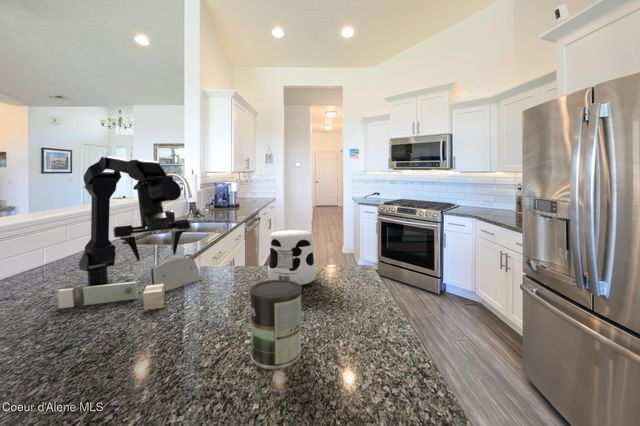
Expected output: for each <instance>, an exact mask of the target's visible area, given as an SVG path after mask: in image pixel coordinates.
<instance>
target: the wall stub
mask: <svg viewBox="0 0 640 426" xmlns="http://www.w3.org/2000/svg"><path fill="white" fill-rule="evenodd" d="M57 297H58V308H59V310H60V309H66V308H74V307H76V306H75V297H74V287H71V288H62V289H59V290H58V291H57Z"/></svg>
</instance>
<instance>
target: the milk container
mask: <svg viewBox="0 0 640 426" xmlns="http://www.w3.org/2000/svg"><path fill="white" fill-rule="evenodd" d="M269 235H270V236H269V255H270V256H269V262H268V266H267V276H268V281H269V280H289V281H293V282H296V283H298V284H300V285H301V287H304V286H307V285H310V284H311V283H313V282H314V281H315V280H316V276H317V265H316V261H315V254H314V253H315V238H314V233H313V232H311V231H308V230H294V229H292V230H289V229H288V230H280V231H273V232H271V233H270V234H269Z"/></svg>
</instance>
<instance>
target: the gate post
mask: <svg viewBox="0 0 640 426" xmlns="http://www.w3.org/2000/svg"><path fill="white" fill-rule="evenodd" d="M73 288H74V297H75V306H74V307H82V306H83V305H84V293H83V286H82V285H75V286H74V287H73Z"/></svg>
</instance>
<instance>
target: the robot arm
mask: <svg viewBox="0 0 640 426" xmlns="http://www.w3.org/2000/svg"><path fill="white" fill-rule="evenodd" d="M121 173H124V174H128V177H129V178H131V179H133V180H135V181H137V183H136V184H135V185H134V186H133V187H132V188H133V190H135V191H137V198H138V206H139V207H138V209H139V215H140V223H141V226H133V225H132V224H130V225H119V226H115V227H114V228H113V229H112V231H113V238H119V240H120V241H121V240H122V241H124V240H125V242H126V244H127V245H128V247H130V249H131V251H132V253H133V255H134V257H135V259H136V260H137V261H138V262H139V261H141V260H140V254H139V250H138V246H137V241H136V237H135V235H134V234H140V233H147V232H148V233H149V232H156V231H164V230H171V229H172V231H170V233H171V249H172V255H173V256H174V255H176V253H177V249H178V245H179V241H180V238H181V236H182V235H183V233H186V232H187V230H189V229H191V223H190V221H189V220H188V219H178V220H175V219H176V218H175V211H174V210H172V209H171V210H165V212H164V208H163V203H166V202H172V201H177V200H179V198H180V197H181V195H182V187H181V186H180V184H179V183H178V182H176V181H175V180H174V176H173V175H168V174H167V173H166V171H165V170H164V168H163V167H162V165H161V163H160V162H159V161H156V160H148V159H147V160H146V159H131V160H130V159H124V158H120V157H119V156H109V155H105V156H101V157H100V159H99V161H97V162H95V163H93V164H92V165H90V166H88V168H87V169H86V171H85V173H84V174H83V182H84V185H85V186H84V187H85V190H86V191H87V193H88V194H89V195H90V197H91V206H90V207H91V209H90V210H91V211H90V213H91V215H90V216H91V217H90V222H91V223H90V224H91V225H90V240H89V241H88V242H87V244H85V246H84V252H83V254H82V256H81V258H80V260H79V262H78V267H79V270H80V271H84V272H86V273H87V274H86V276H87V277H86V278H87V284H86V285H85V286H84V287H89V286H98V285H108V284H111V283H112V279H109V270H108V269H109V268H108V267H113V266H115V263H116V262H115V261H116V255H117V254H116V245H114V244H113V243H112V242H111V240H110V208H111V207H110V205H111V204H110V202H111V201H110V200H111V197H112V196H113V195H114V193H115V192H116V190H117V184H118V183H119V181H120V179H122V175H121ZM186 229H187V230H186ZM133 235H134V236H133Z"/></svg>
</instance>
